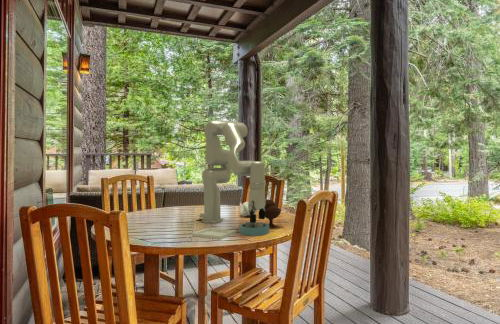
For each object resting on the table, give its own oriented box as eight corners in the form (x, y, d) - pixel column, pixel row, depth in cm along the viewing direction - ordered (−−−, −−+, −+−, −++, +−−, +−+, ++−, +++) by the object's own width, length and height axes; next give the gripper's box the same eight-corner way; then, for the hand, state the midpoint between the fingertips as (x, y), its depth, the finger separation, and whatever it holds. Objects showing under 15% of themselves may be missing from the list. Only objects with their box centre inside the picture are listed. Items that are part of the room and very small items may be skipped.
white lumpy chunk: (253, 214, 236) (253, 200, 236) (262, 216, 225) (262, 202, 225) (238, 215, 231) (237, 201, 230) (246, 218, 220) (246, 204, 220)
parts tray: (192, 237, 171) (192, 233, 171) (209, 231, 184) (209, 227, 184) (220, 240, 164) (220, 236, 164) (236, 234, 176) (236, 230, 176)
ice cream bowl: (280, 229, 187) (279, 200, 187) (259, 228, 190) (258, 200, 189) (282, 225, 198) (282, 198, 197) (262, 224, 200) (262, 197, 200)
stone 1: (243, 231, 178) (243, 222, 178) (247, 230, 182) (247, 221, 182) (251, 232, 176) (251, 223, 176) (255, 230, 180) (255, 221, 180)
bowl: (235, 234, 175) (234, 226, 175) (248, 229, 188) (248, 221, 188) (260, 237, 169) (260, 229, 169) (272, 231, 181) (272, 223, 181)
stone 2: (252, 232, 176) (252, 223, 176) (256, 230, 180) (256, 222, 180) (260, 233, 174) (260, 224, 174) (264, 231, 178) (264, 222, 178)
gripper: (258, 184, 186) (258, 217, 187) (242, 187, 171) (242, 223, 171) (271, 185, 183) (271, 218, 183) (256, 188, 167) (256, 224, 168)
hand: (257, 220), depth 177 cm, fingers open, 9 cm apart
